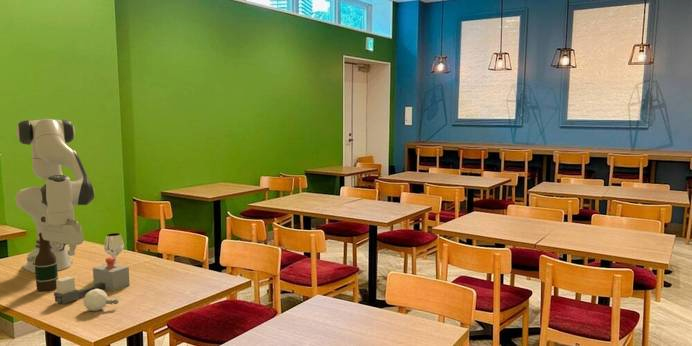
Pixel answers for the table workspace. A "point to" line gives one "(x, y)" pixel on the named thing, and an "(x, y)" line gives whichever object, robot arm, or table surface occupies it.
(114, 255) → the wineglass
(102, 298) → the perfume bottle
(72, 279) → the cream box
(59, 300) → the rail
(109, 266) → the plunger
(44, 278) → the beer bottle
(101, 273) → the grey holed block
